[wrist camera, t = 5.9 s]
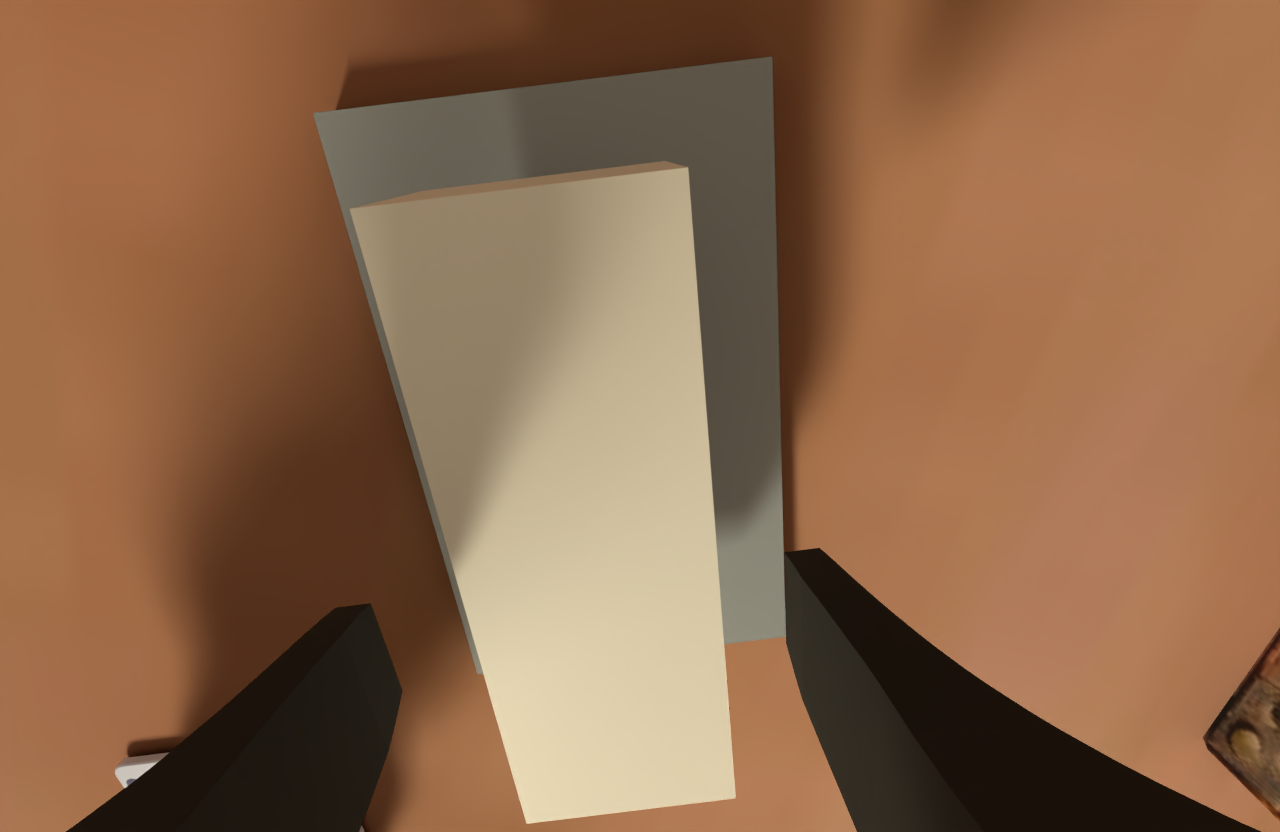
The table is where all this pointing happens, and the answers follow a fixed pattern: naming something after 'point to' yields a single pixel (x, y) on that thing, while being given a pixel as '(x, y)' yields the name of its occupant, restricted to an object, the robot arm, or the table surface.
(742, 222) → the flat gray board
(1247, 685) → the book
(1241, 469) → the table surface
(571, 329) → the cream rectangular block
